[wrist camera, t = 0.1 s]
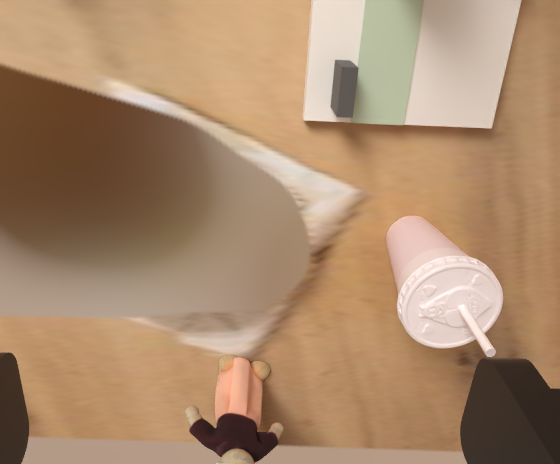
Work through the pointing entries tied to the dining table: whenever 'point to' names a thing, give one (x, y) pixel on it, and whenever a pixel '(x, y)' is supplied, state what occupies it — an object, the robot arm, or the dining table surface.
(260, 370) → the grandmother figurine
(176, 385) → the dining table surface
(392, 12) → the door mockup
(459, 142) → the dining table surface
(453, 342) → the smoothie
